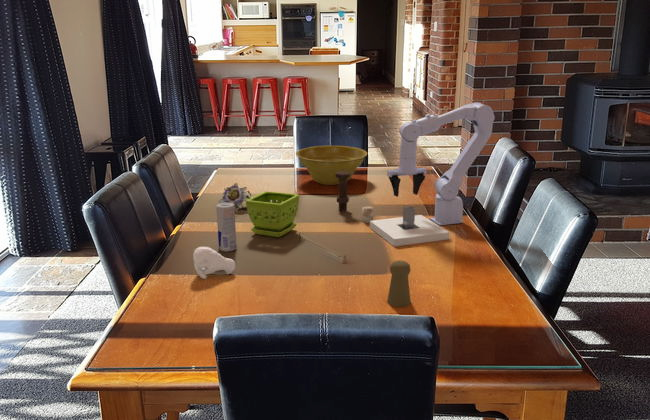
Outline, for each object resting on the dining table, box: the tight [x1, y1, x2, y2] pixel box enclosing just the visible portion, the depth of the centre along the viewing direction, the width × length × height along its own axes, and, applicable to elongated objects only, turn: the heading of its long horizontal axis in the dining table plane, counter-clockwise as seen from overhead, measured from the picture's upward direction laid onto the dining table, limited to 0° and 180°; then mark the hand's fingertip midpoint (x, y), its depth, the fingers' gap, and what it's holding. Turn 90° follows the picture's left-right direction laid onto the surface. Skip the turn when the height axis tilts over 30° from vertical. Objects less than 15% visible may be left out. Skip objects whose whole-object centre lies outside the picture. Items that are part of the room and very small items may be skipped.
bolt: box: [336, 171, 350, 212], centre depth 229 cm, size 6×5×15 cm
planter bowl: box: [295, 145, 368, 186], centre depth 272 cm, size 32×32×13 cm
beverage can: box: [216, 202, 237, 253], centre depth 190 cm, size 6×6×15 cm
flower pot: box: [245, 191, 300, 238], centre depth 206 cm, size 14×14×13 cm
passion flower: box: [218, 182, 252, 210], centre depth 234 cm, size 11×11×12 cm
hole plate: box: [369, 214, 450, 247], centre depth 205 cm, size 20×20×2 cm
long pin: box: [402, 206, 416, 230], centre depth 204 cm, size 4×4×9 cm
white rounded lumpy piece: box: [192, 246, 236, 280], centre depth 172 cm, size 6×8×12 cm
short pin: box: [361, 205, 374, 224], centre depth 218 cm, size 4×4×5 cm
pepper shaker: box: [386, 260, 412, 308], centre depth 153 cm, size 6×6×11 cm
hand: (405, 194), depth 213 cm, fingers open, 7 cm apart
